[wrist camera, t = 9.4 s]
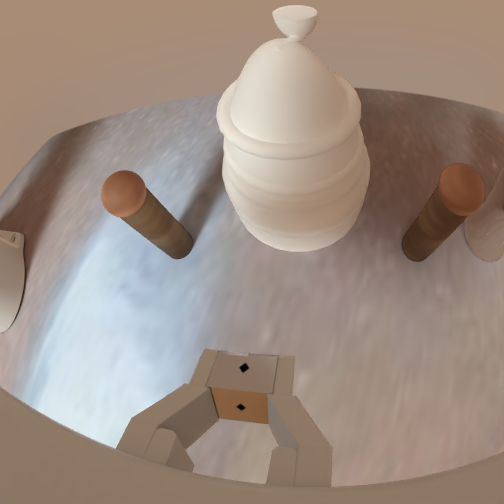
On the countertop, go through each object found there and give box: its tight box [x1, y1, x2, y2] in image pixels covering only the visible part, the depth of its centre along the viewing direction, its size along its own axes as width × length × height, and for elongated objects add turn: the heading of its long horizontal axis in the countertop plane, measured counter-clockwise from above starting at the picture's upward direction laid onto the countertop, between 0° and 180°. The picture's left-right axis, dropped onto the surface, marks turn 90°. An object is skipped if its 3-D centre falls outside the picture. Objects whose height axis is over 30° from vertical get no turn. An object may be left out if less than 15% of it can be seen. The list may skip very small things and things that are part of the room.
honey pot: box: [216, 5, 370, 252], centre depth 20 cm, size 13×13×18 cm
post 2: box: [402, 163, 485, 262], centre depth 19 cm, size 3×3×12 cm
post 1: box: [101, 170, 193, 259], centre depth 23 cm, size 3×3×12 cm
